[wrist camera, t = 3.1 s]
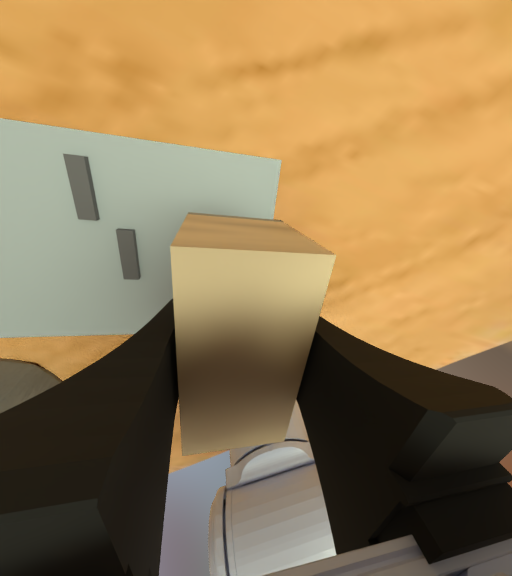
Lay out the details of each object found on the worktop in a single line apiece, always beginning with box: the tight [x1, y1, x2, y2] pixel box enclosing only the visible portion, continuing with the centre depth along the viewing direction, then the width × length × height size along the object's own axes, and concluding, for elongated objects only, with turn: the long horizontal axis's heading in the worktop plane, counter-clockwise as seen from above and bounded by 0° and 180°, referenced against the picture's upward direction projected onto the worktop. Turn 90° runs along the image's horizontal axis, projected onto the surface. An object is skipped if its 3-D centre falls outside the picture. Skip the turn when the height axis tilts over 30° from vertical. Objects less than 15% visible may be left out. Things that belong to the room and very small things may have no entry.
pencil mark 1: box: [63, 154, 100, 221], centre depth 13 cm, size 4×1×1 cm, turn 173°
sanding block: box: [170, 212, 336, 456], centre depth 9 cm, size 8×4×5 cm, turn 173°
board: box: [0, 118, 281, 338], centre depth 16 cm, size 14×20×2 cm
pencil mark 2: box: [116, 228, 141, 280], centre depth 15 cm, size 4×1×1 cm, turn 174°
